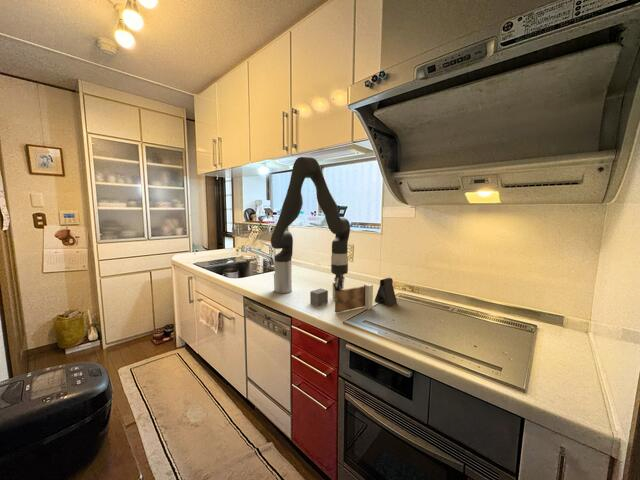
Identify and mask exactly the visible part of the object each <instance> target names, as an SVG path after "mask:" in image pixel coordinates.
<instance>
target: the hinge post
mask: <svg viewBox="0 0 640 480" xmlns="http://www.w3.org/2000/svg"><path fill="white" fill-rule="evenodd" d="M365 285H366V286H365V306H364V309H366V310H371V309H372V308H373V298H374V297H373V293H374V285H373V284H371V283H368V284H365Z"/></svg>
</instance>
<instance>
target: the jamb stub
mask: <svg viewBox="0 0 640 480" xmlns="http://www.w3.org/2000/svg"><path fill="white" fill-rule="evenodd" d="M334 283H335V281H334V282H332V299H335V288H334Z"/></svg>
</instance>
